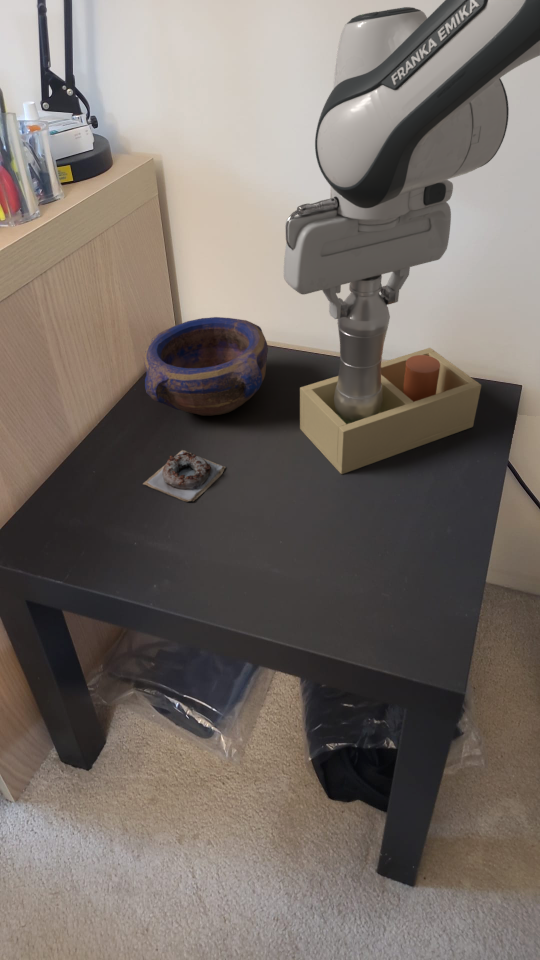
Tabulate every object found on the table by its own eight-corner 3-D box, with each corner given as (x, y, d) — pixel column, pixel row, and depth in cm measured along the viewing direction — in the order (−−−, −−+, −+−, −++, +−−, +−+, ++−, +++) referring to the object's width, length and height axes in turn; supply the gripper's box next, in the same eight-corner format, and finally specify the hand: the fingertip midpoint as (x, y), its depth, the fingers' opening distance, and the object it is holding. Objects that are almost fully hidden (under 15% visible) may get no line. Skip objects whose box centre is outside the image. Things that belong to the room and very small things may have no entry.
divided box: (473, 426, 96) (481, 384, 92) (341, 474, 89) (343, 431, 85) (424, 387, 104) (430, 347, 100) (299, 428, 97) (299, 387, 93)
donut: (190, 505, 86) (188, 493, 85) (143, 484, 89) (140, 472, 88) (228, 468, 91) (227, 456, 90) (182, 450, 94) (180, 438, 93)
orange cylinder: (439, 415, 97) (447, 366, 92) (412, 425, 96) (419, 376, 90) (420, 399, 100) (426, 351, 95) (394, 408, 99) (399, 360, 93)
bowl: (160, 367, 111) (151, 310, 104) (271, 366, 110) (269, 309, 104) (141, 434, 97) (129, 374, 91) (267, 434, 97) (264, 373, 90)
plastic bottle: (386, 405, 94) (399, 265, 81) (375, 433, 89) (387, 289, 76) (340, 397, 96) (346, 259, 83) (327, 425, 91) (331, 283, 78)
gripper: (300, 218, 68) (300, 341, 77) (466, 181, 74) (448, 300, 83) (271, 199, 72) (275, 318, 81) (430, 166, 79) (417, 280, 88)
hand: (364, 308), depth 82 cm, fingers closed on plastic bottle, 6 cm apart
